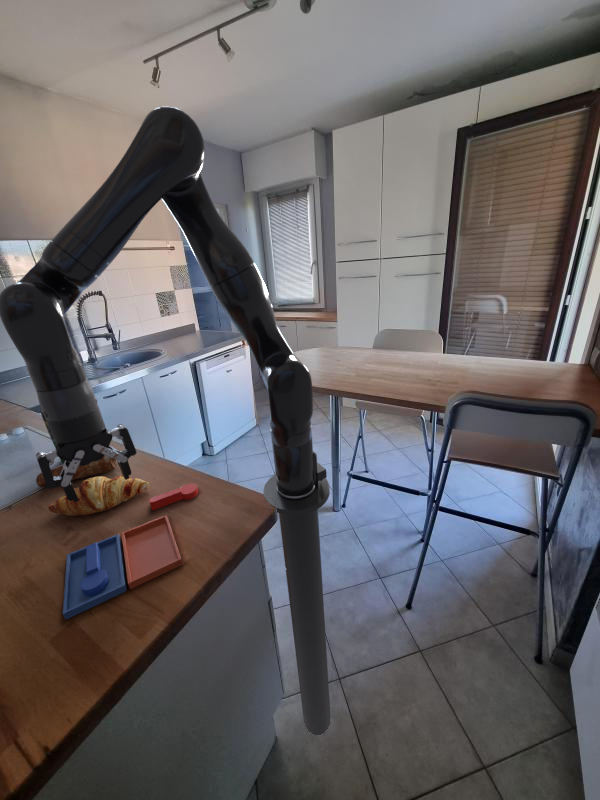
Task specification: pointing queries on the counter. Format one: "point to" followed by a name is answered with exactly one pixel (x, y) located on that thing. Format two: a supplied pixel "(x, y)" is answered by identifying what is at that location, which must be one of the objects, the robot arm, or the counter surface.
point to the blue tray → (77, 571)
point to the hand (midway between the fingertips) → (102, 488)
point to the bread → (83, 470)
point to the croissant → (99, 495)
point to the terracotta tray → (149, 551)
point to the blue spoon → (93, 572)
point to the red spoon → (174, 496)
